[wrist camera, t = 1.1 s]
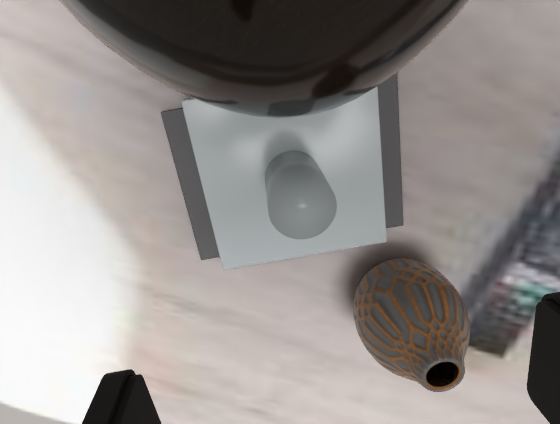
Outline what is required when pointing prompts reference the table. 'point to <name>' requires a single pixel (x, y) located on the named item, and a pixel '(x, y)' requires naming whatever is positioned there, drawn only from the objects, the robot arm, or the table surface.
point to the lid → (290, 180)
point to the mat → (194, 189)
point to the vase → (413, 323)
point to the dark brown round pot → (268, 46)
